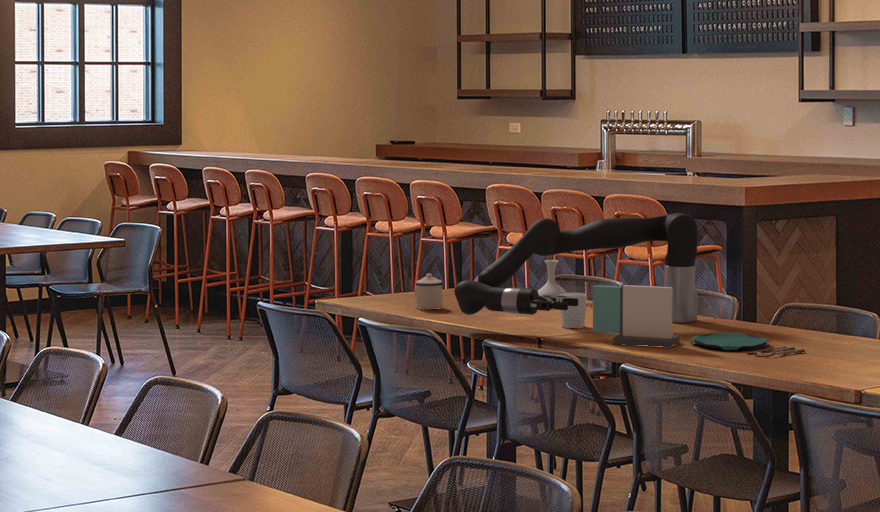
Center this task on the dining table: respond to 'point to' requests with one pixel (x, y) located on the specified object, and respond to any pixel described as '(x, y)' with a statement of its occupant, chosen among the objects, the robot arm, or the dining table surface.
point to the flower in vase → (551, 281)
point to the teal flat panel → (607, 309)
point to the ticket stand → (646, 316)
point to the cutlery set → (736, 342)
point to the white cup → (574, 311)
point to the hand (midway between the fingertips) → (572, 304)
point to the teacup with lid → (428, 292)
